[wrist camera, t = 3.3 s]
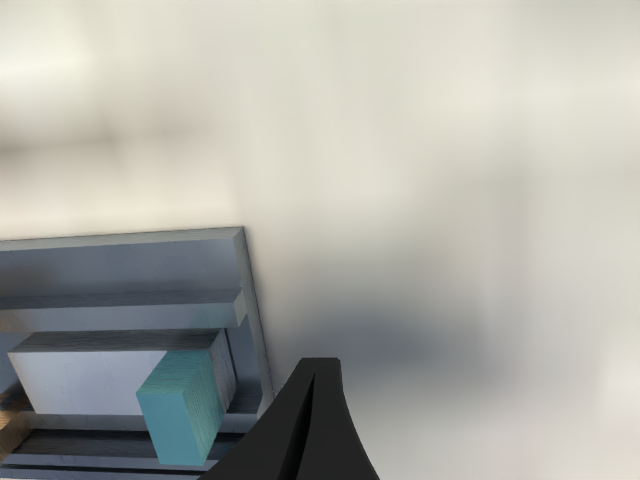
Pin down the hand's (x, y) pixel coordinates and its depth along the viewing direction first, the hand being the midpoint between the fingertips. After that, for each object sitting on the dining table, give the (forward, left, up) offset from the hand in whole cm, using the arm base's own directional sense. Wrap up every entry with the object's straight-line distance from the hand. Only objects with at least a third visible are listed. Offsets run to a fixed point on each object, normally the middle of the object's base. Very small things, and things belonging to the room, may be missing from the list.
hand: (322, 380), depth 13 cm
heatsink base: (0, +9, -3) cm, 10 cm away
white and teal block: (0, +8, -1) cm, 8 cm away
